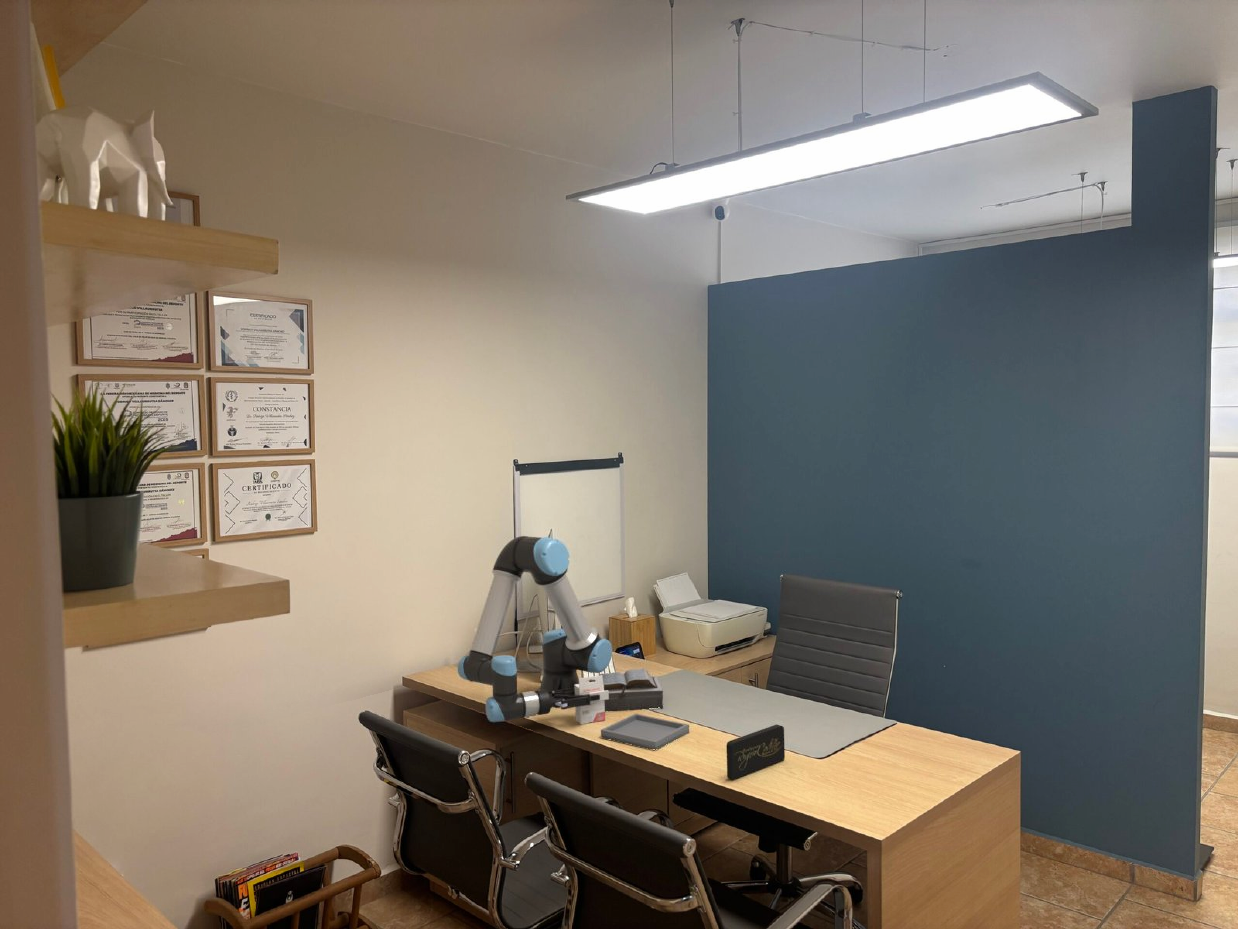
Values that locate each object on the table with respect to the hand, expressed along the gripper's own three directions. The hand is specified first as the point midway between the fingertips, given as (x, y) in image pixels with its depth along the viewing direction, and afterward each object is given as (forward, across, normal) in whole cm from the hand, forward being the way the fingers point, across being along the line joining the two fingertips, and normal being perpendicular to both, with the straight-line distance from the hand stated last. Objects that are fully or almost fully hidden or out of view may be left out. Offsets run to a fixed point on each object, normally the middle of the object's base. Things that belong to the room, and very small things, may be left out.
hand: (604, 692), depth 287 cm
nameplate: (+20, +60, -9) cm, 63 cm away
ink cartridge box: (-5, 0, -8) cm, 10 cm away
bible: (+12, -12, -9) cm, 20 cm away
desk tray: (+4, +21, -8) cm, 23 cm away
